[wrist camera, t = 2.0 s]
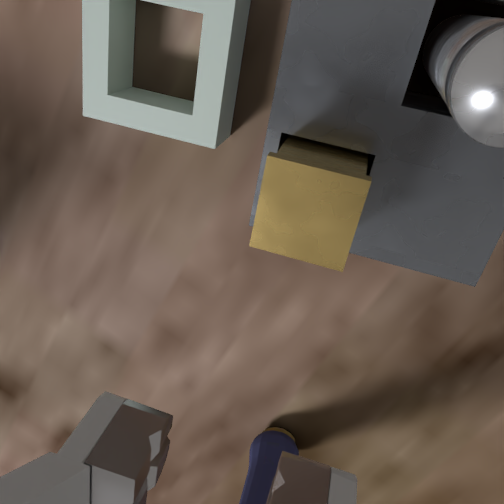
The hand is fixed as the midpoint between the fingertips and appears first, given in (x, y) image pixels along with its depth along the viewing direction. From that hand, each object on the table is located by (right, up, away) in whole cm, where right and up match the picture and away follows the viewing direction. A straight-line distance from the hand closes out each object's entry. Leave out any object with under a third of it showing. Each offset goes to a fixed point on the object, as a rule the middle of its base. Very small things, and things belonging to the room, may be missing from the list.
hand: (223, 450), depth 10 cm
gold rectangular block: (+4, +8, +16) cm, 18 cm away
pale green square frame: (-4, +16, +17) cm, 24 cm away
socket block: (+9, +12, +16) cm, 22 cm away
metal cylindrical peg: (+11, +14, +14) cm, 23 cm away
